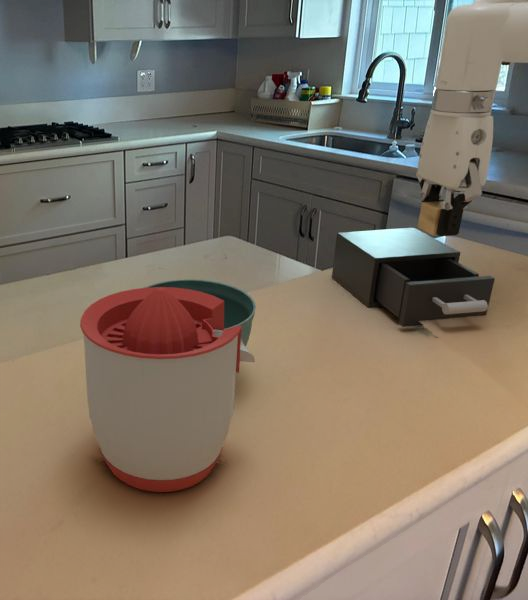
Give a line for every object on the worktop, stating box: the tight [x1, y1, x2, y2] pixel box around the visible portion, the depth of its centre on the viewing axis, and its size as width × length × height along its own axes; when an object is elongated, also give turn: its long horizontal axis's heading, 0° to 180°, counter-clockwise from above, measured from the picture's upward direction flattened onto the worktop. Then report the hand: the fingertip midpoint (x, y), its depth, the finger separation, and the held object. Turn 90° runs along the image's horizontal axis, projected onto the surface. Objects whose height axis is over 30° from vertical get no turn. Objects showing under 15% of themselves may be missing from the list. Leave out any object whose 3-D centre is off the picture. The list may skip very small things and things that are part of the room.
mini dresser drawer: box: [374, 257, 496, 328], centre depth 95 cm, size 17×13×7 cm
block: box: [416, 200, 445, 236], centre depth 92 cm, size 4×4×4 cm
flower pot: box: [143, 278, 257, 348], centre depth 80 cm, size 16×16×11 cm
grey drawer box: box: [331, 227, 462, 309], centre depth 106 cm, size 14×15×9 cm
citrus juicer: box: [79, 287, 256, 493], centre depth 63 cm, size 16×17×20 cm
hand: (437, 229), depth 92 cm, fingers closed on block, 4 cm apart
